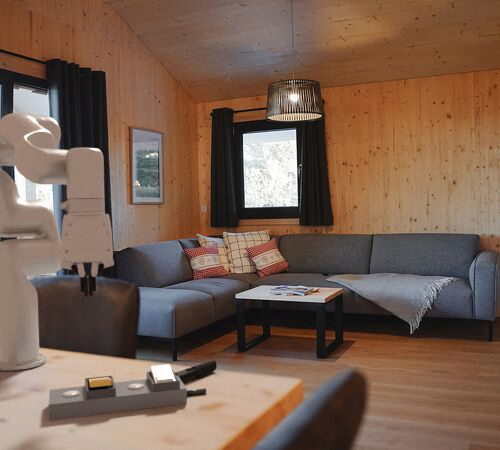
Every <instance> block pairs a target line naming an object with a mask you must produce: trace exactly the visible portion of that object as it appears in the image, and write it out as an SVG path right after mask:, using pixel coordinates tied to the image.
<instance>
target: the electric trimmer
mask: <svg viewBox="0 0 500 450" xmlns="http://www.w3.org/2000/svg"><path fill="white" fill-rule="evenodd" d="M216 370H217V361H216V360H215V359H214V360H210V361H207V362H203V363H200V364H198V365H193V366H190V367H189V368H188V367H187V368H185V369H183V370H179V371H177V372H175V371H173V372H174V373H175V375H176V376H178V377H179V378H180V379H181V381H182V382H183V384H185V383H187V382H189V381H191V380H194V379H202V378H203V377H205V376H207V375H209V374H210V373H212V372H214V371H216Z"/></svg>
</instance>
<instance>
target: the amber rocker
mask: <svg viewBox="0 0 500 450" xmlns="http://www.w3.org/2000/svg"><path fill="white" fill-rule="evenodd" d="M108 385H112V382H111V379H110V378H109V377H105V378H96V379H89V386H90V388H91V387H99V386H108Z"/></svg>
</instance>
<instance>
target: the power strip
mask: <svg viewBox="0 0 500 450" xmlns="http://www.w3.org/2000/svg"><path fill="white" fill-rule="evenodd" d="M171 370H172V372H173V375H174V377H175V380H176V381H170V382H161V383H154V381H153V377H152V374H151V371H150V370H149V371H146V378H144V379H136V380H128V381H127V380H126V381H118V382H117V381H116V382H114V378H113V375H106V376H105V375H104V376H93V377H87V378H84V385H81V386H79V385H78V386H73V387H63V388H52V389H50V390H49V394H48V395H49V399H48V420H49V421H57V420H66V419H74V418H80V417H88V416H89V417H90V416H97V415H104V414H112V413H121V412H128V411H136V410H143V409H152V408H160V407H170V406H176V405H184V404H185V405H186V404H187V403H188V399H187V398H188V396H194V395H195V396H196V395H202V394H203V395H204V394H207V388H198V389H188V390H187V387H186V385H185V383H183V382H182V381H181V379H180V378H179V377H178V376H176V375H175V373H176V372H175V371H174V370H173V369H172V368H171ZM174 372H175V373H174ZM105 377H109V378H110V379H111V382H112V385H108V386H99V387H91V388H90V386H89V379H96V378H105Z"/></svg>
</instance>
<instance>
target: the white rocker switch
mask: <svg viewBox="0 0 500 450" xmlns="http://www.w3.org/2000/svg"><path fill="white" fill-rule="evenodd" d="M171 369H172V367H171V364H170V363H169V364H160V365H151V366H150V370H149V372H150V371H151V374H152V377H153V381H154V383H161V382H170V381H176V380H175V377H174V375H173V372H174V371H173V372H172V370H173V369H172V370H171Z"/></svg>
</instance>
